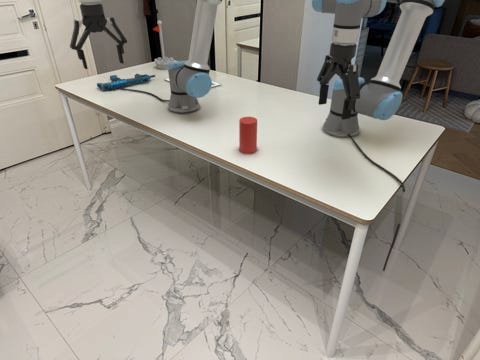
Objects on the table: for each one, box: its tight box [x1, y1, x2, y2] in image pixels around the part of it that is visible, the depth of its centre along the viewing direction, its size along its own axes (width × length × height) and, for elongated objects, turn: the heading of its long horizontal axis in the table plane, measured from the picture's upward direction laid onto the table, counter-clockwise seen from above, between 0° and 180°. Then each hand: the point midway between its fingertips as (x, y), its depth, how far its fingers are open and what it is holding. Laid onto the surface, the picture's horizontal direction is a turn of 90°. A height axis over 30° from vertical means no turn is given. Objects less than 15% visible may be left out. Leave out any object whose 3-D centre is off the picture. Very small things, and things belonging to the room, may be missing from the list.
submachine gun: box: [96, 73, 156, 91], centre depth 208 cm, size 34×4×25 cm
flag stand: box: [152, 19, 175, 70], centre depth 230 cm, size 13×13×30 cm
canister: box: [238, 116, 258, 155], centre depth 132 cm, size 7×7×13 cm
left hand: (104, 65), depth 130 cm, fingers open, 13 cm apart
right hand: (333, 111), depth 112 cm, fingers open, 13 cm apart
